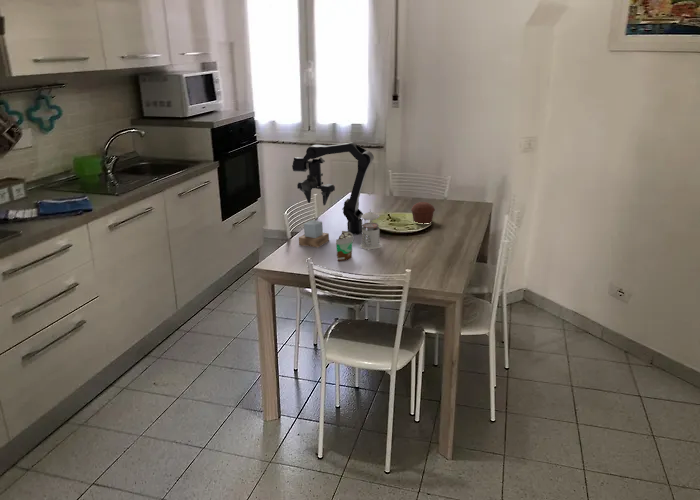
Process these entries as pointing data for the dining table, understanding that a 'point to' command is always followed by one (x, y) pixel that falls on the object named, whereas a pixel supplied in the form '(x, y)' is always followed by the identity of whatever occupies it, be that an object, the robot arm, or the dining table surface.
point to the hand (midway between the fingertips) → (316, 204)
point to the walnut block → (314, 240)
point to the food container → (344, 246)
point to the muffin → (422, 212)
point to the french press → (370, 231)
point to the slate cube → (313, 229)
